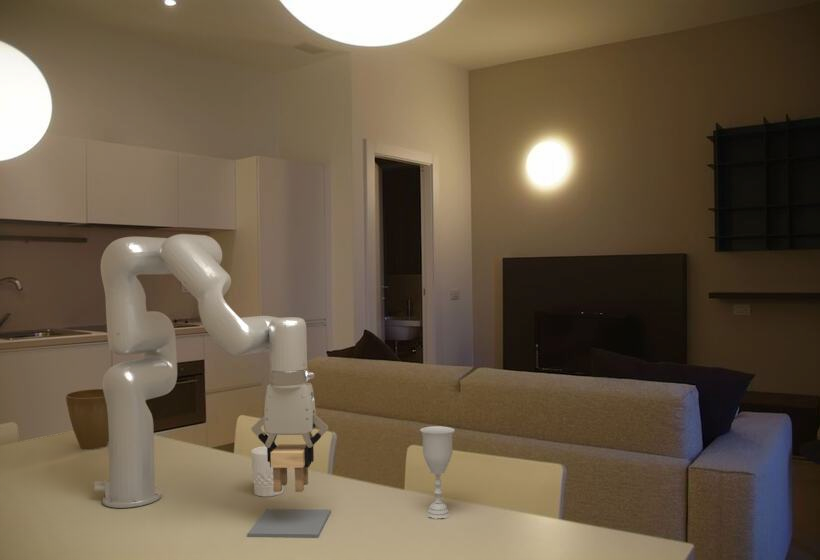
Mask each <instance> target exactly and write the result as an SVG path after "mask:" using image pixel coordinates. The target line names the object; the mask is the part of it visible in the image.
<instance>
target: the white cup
mask: <svg viewBox="0 0 820 560" xmlns="http://www.w3.org/2000/svg"><path fill="white" fill-rule="evenodd" d="M250 453H251V454H250V456H251V470H252V471H251V472H252V482H253V489H254V491H253V492H254V495H256V496H258V497H275V496H278V495H281V494H282V493H283V492H284V490H285V489H284V486H285V485H282V491H281V492H274V487H273V468H271V467H270V462H268V460H267V447H265V445H263V446H259V447H258V446H257V447H255V448H252V449H251V450H250Z"/></svg>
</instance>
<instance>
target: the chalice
mask: <svg viewBox="0 0 820 560" xmlns="http://www.w3.org/2000/svg"><path fill="white" fill-rule="evenodd" d="M420 432H421V434H422V455H423V457H424V460H425V463H426V465H427V466H428V469H429V470H430V473H432V474H434V476H435V481H434V483H433V484H434V485H435V490H434V491H433V493H434V494H435V500H434V502H431V504H430V505H429V508H428V510H427V512H426V515H427V516H429V517H432V518H445V517H448V516H450V517H451V513H450V512H449V509H448V505H447V504H446V503H445V502H443V501H442V499H441V495H442V494H443V490H442V489H441V486H442V485H443V484H442V480H441V476H442V475H443V474H444V473H446V470H447V468H448V466H449V464H450V462H451V458H452V455H453V435H454V433H455V428H452V427H448V426H441V425H437V426H436V425H435V426H426V427H422V428H420ZM427 516H426V517H427Z"/></svg>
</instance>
